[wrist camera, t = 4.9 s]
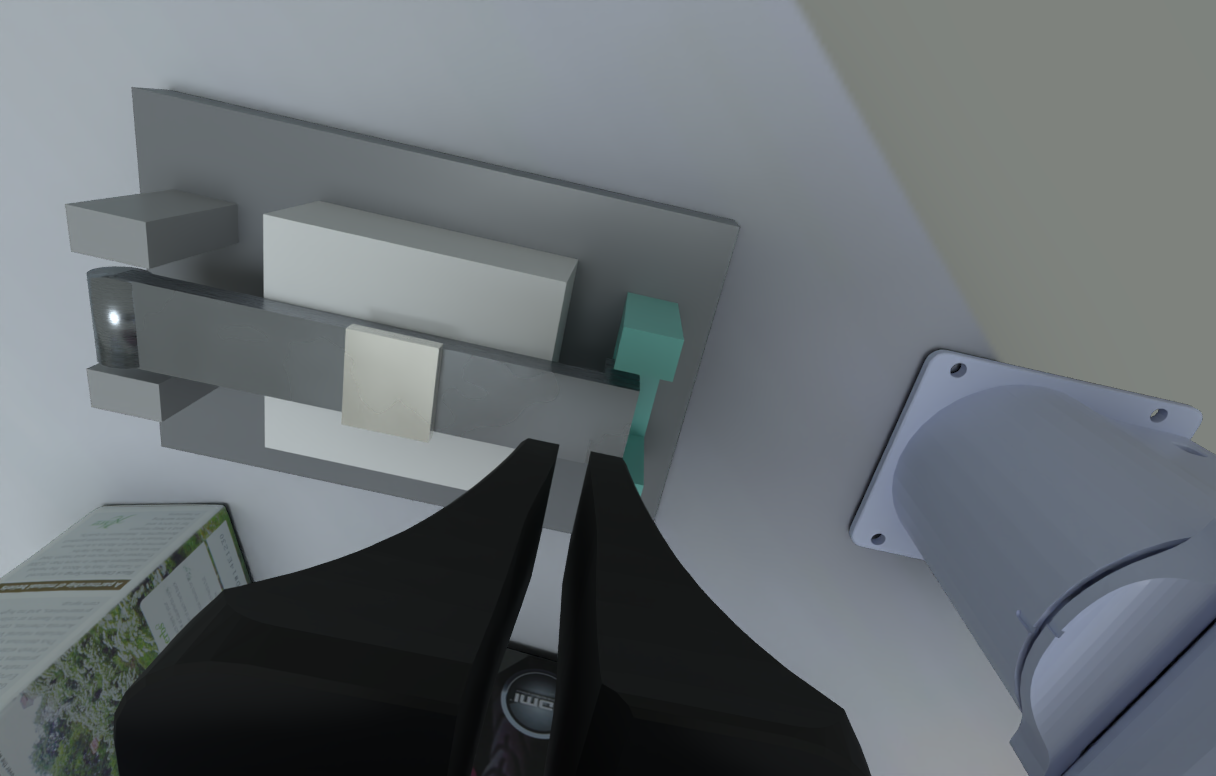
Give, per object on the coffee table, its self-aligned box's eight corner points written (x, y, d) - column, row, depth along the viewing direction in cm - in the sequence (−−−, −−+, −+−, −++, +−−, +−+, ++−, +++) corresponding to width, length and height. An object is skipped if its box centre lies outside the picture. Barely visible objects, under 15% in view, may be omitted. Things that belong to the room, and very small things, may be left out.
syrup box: (96, 502, 26) (-500, 911, 12) (233, 500, 25) (-232, 922, 12) (144, 610, 28) (-319, 1057, 15) (270, 610, 27) (-86, 1070, 14)
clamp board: (733, 219, 20) (761, 251, 15) (645, 525, 25) (645, 625, 20) (168, 89, 19) (6, 78, 14) (189, 427, 24) (72, 505, 19)
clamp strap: (641, 360, 18) (641, 392, 16) (620, 442, 19) (617, 482, 17) (138, 249, 18) (67, 267, 16) (146, 340, 19) (81, 369, 17)
